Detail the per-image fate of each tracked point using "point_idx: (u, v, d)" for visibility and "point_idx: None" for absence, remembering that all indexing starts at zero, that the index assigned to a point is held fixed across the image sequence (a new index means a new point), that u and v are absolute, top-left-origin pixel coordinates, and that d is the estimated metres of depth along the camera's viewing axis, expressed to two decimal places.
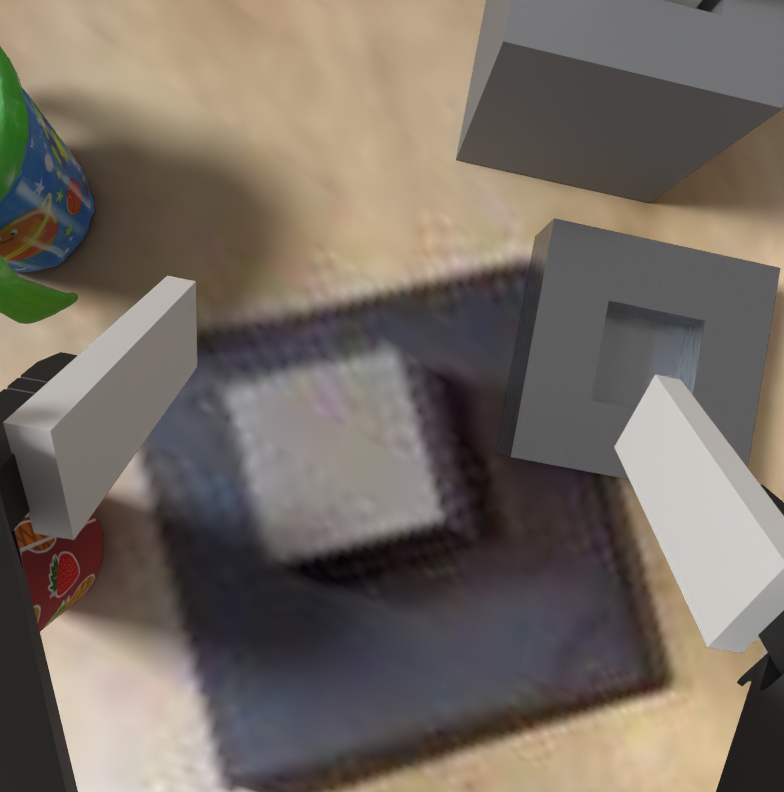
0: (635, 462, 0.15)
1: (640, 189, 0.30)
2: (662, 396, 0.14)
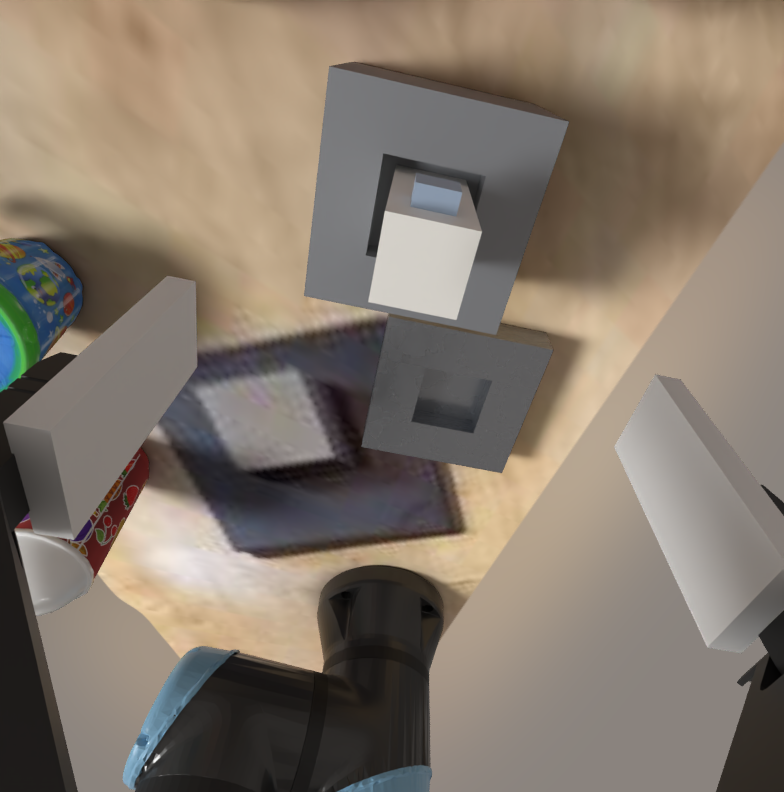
0: (635, 462, 0.15)
1: None
2: (662, 396, 0.14)
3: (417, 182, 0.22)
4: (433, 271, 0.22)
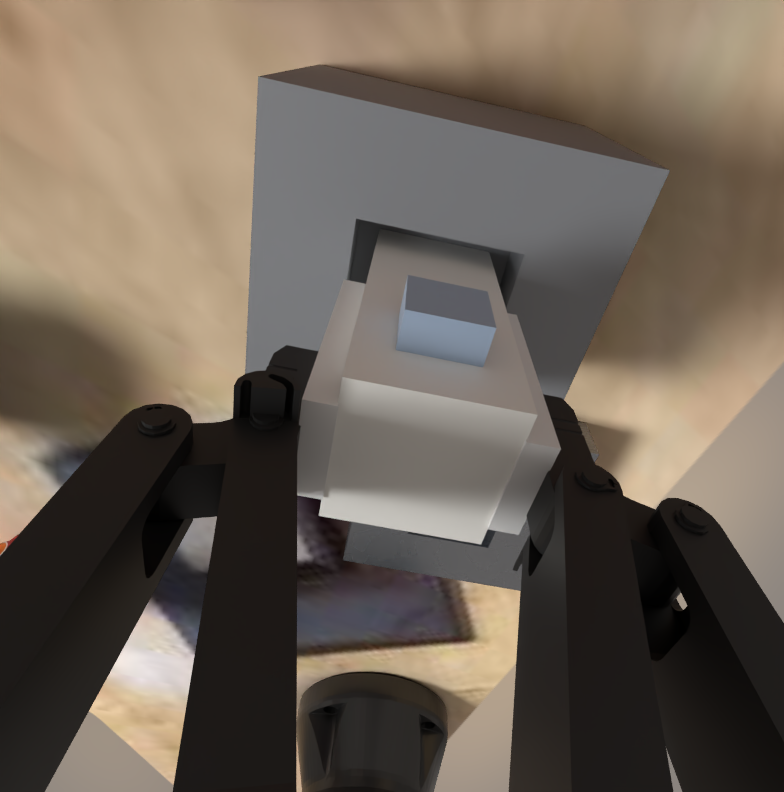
0: None
1: None
2: None
3: (409, 308, 0.11)
4: (440, 474, 0.12)
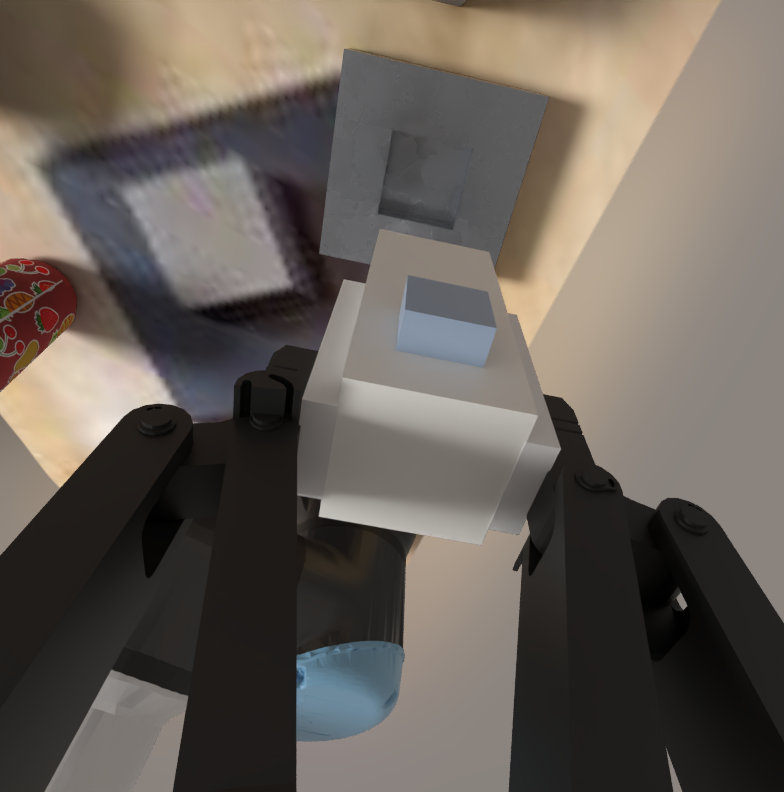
0: None
1: (440, 0, 0.32)
2: None
3: (409, 309, 0.11)
4: (440, 474, 0.12)
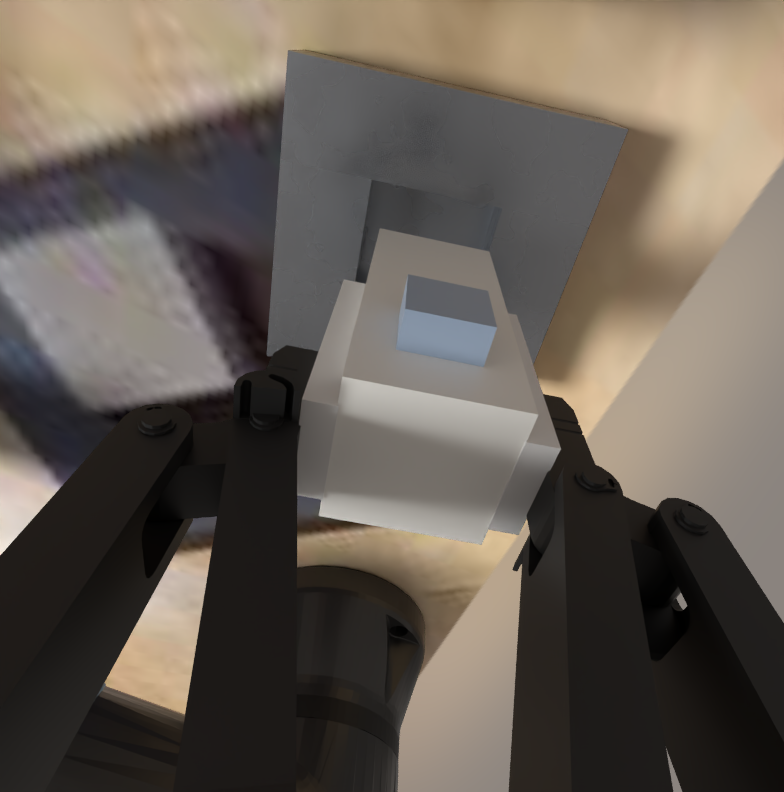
0: None
1: None
2: None
3: (409, 308, 0.11)
4: (440, 474, 0.12)
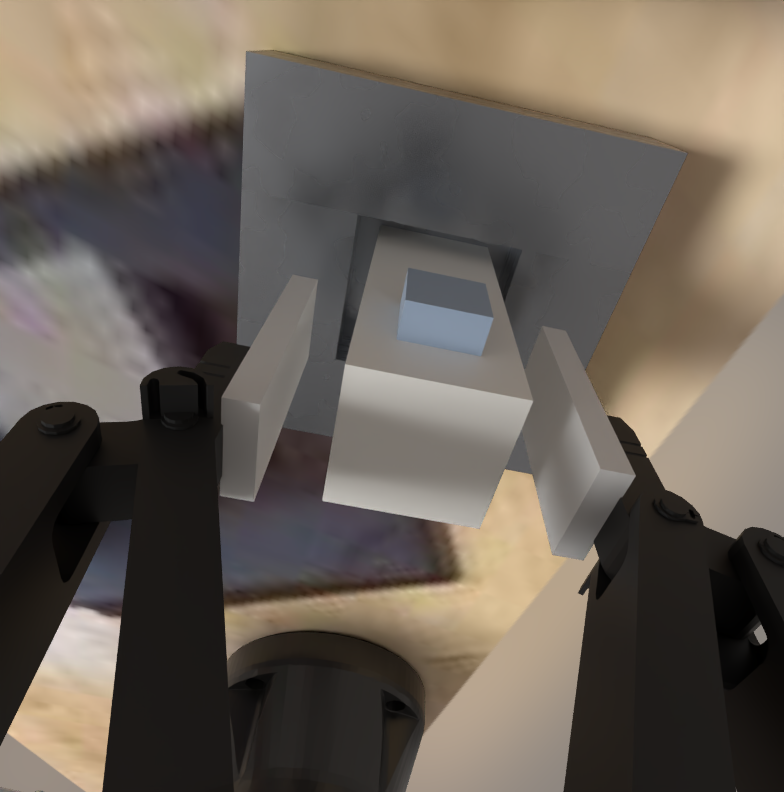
0: None
1: None
2: (544, 344, 0.15)
3: (409, 299, 0.12)
4: (440, 458, 0.12)
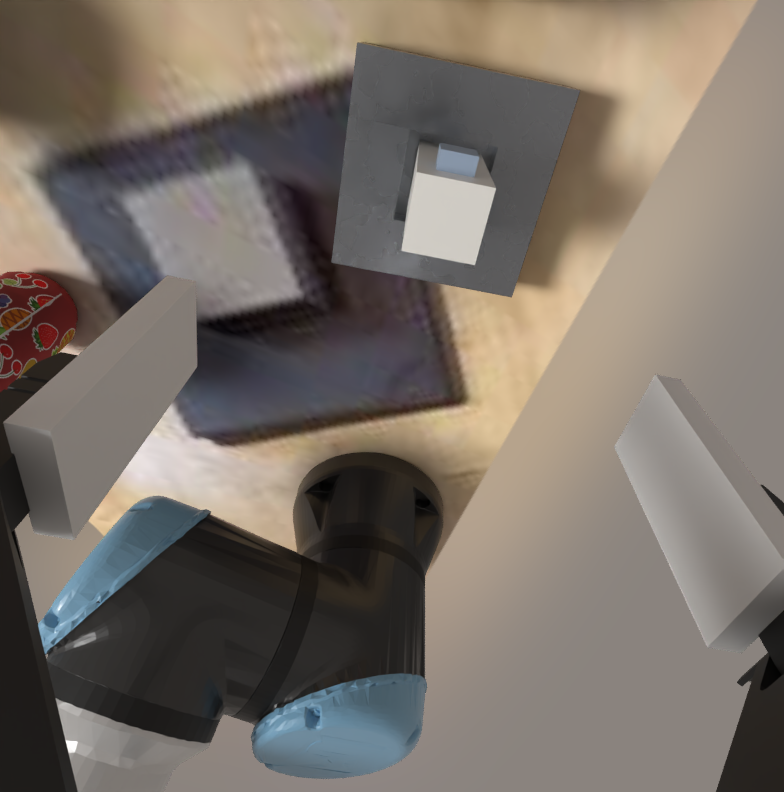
0: (635, 462, 0.15)
1: None
2: (662, 396, 0.14)
3: (442, 149, 0.27)
4: (456, 222, 0.27)
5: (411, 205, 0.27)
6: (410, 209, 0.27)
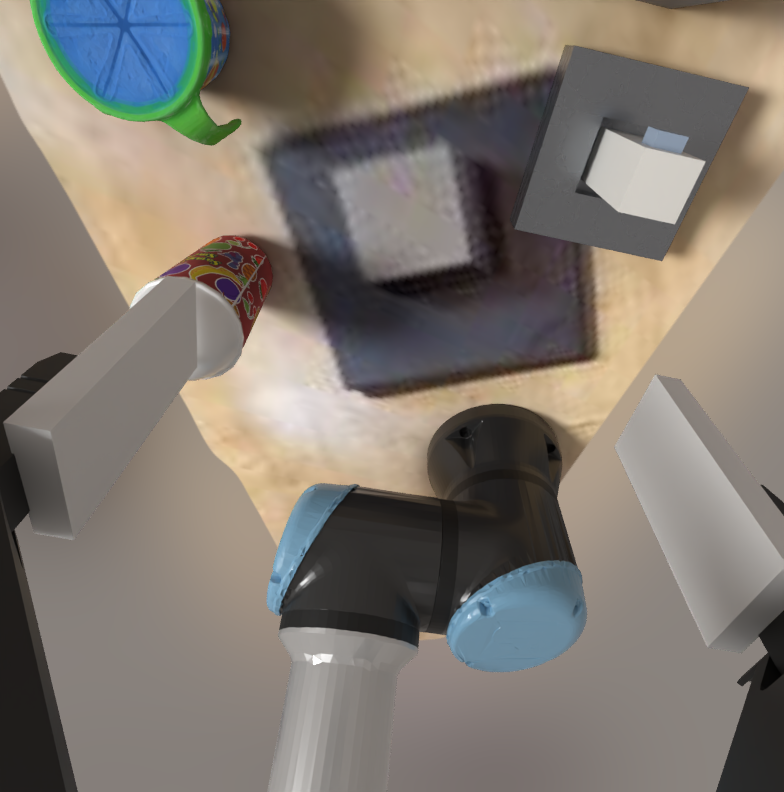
0: (635, 462, 0.15)
1: (659, 3, 0.36)
2: (662, 396, 0.14)
3: (660, 130, 0.34)
4: (667, 189, 0.34)
5: (635, 174, 0.34)
6: (633, 177, 0.34)
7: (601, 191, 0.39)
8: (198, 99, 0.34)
